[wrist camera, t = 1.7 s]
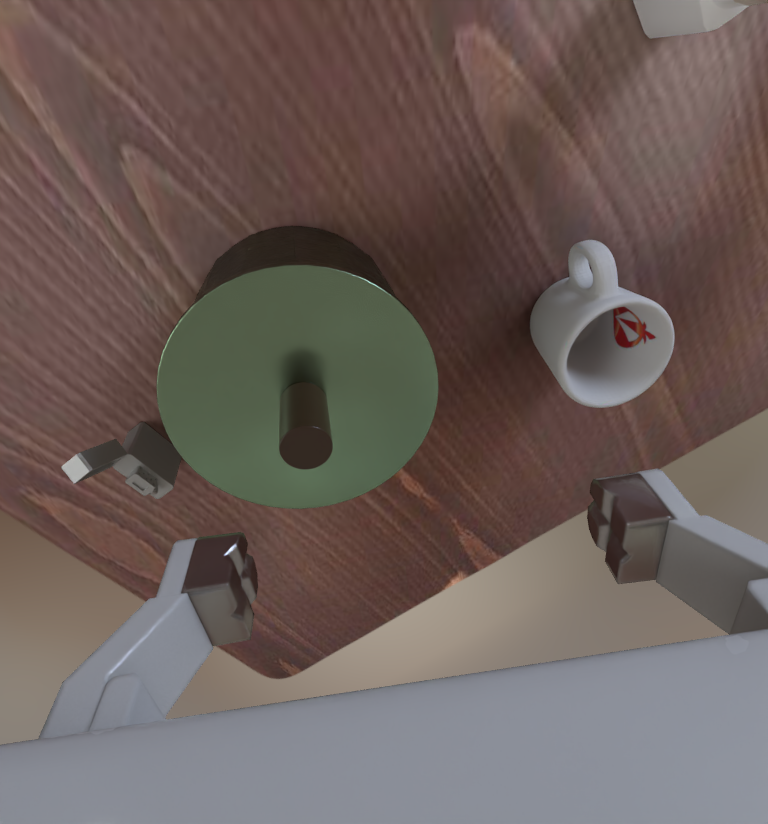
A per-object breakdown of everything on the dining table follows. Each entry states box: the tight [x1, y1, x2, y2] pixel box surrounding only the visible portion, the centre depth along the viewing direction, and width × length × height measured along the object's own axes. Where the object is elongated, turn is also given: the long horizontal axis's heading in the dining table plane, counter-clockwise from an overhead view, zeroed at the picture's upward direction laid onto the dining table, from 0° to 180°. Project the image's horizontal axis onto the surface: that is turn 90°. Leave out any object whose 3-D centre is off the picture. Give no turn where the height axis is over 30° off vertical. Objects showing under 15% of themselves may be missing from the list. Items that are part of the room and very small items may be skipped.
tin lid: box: [156, 262, 438, 509], centre depth 29 cm, size 15×15×6 cm
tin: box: [194, 226, 395, 302], centre depth 35 cm, size 14×14×10 cm
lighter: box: [61, 422, 182, 499], centre depth 39 cm, size 7×2×8 cm, turn 36°
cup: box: [530, 240, 674, 408], centre depth 39 cm, size 11×8×8 cm
